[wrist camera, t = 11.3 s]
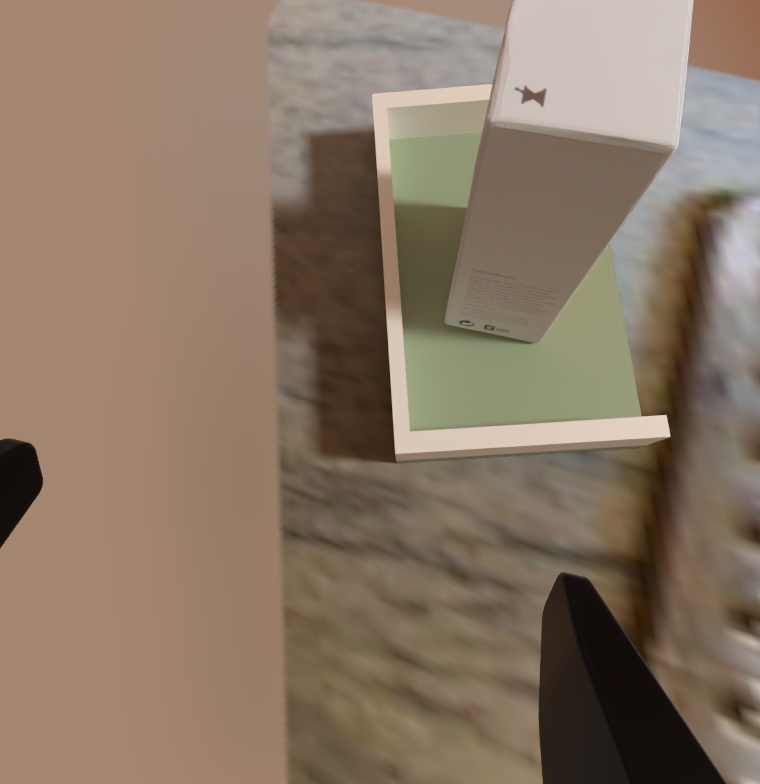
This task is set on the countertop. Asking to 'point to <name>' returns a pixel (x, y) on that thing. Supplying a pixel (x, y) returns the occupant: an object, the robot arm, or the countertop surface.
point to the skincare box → (565, 153)
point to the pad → (474, 348)
